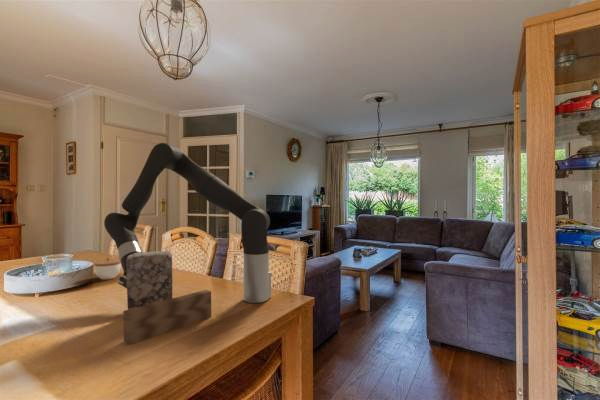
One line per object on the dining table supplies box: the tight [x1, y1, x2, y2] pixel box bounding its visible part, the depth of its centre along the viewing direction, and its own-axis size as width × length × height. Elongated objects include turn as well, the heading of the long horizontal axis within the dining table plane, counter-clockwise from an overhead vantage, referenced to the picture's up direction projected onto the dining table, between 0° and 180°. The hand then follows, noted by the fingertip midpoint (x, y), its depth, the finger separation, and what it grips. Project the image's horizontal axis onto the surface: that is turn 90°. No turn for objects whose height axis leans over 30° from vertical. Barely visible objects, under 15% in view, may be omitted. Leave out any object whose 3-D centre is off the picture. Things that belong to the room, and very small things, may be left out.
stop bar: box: [122, 289, 212, 346], centre depth 86 cm, size 24×3×8 cm, turn 138°
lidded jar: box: [94, 257, 122, 280], centre depth 141 cm, size 11×11×9 cm
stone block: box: [126, 250, 174, 310], centre depth 96 cm, size 13×7×20 cm, turn 118°
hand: (146, 298), depth 99 cm, fingers closed
